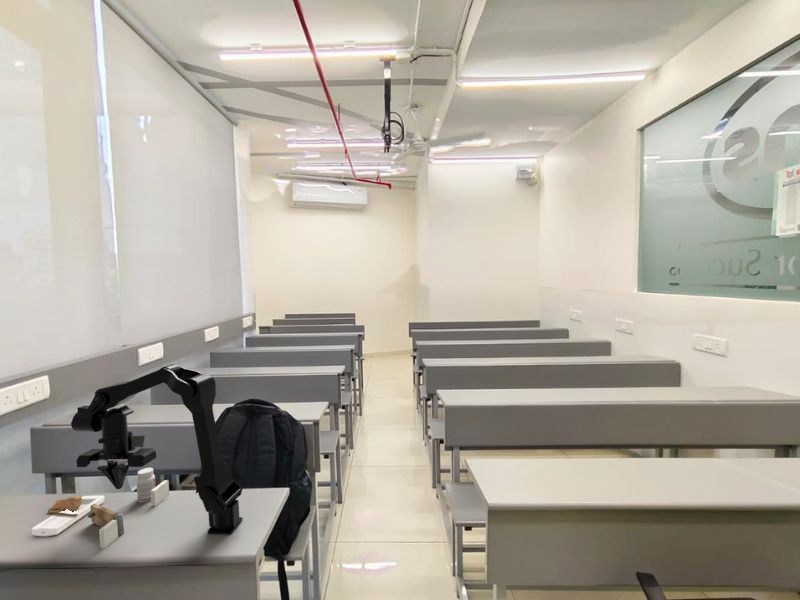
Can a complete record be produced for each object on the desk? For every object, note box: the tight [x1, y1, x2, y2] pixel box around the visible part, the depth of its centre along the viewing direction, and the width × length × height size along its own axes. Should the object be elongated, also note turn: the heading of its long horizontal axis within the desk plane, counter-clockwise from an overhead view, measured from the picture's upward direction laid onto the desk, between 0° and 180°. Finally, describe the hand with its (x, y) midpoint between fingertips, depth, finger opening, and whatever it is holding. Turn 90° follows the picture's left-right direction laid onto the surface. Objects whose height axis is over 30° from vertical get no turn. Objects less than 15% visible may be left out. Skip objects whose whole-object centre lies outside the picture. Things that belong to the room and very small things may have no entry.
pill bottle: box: [135, 467, 157, 503], centre depth 123 cm, size 5×5×8 cm
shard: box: [47, 496, 84, 514], centre depth 118 cm, size 11×8×2 cm
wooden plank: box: [87, 503, 118, 528], centre depth 108 cm, size 10×2×5 cm, turn 63°
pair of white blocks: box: [98, 479, 170, 549], centre depth 112 cm, size 2×24×5 cm, turn 175°
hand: (119, 488), depth 112 cm, fingers closed
